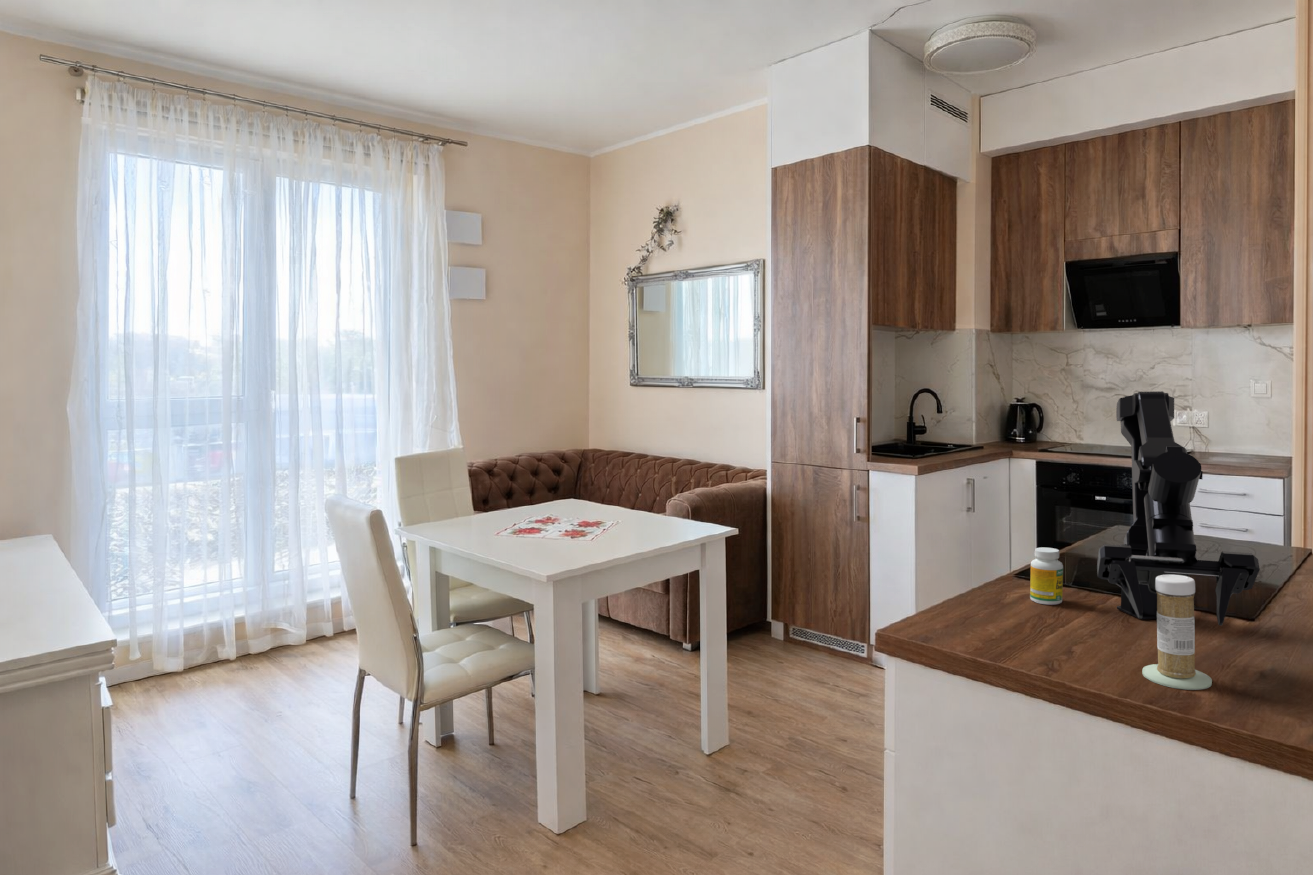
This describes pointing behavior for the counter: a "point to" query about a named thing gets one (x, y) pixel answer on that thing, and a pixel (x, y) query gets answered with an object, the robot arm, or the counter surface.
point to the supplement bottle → (1046, 577)
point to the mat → (1177, 679)
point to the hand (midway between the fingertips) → (1179, 620)
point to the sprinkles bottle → (1175, 625)
